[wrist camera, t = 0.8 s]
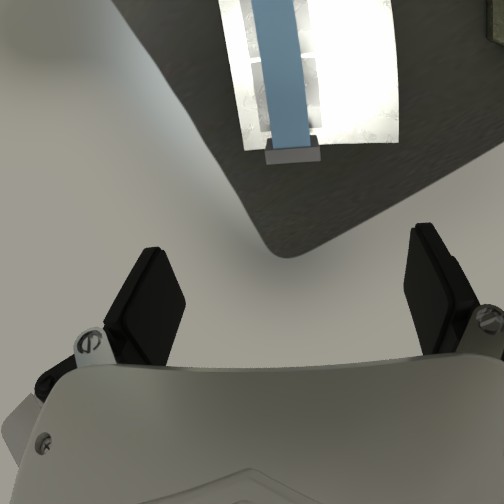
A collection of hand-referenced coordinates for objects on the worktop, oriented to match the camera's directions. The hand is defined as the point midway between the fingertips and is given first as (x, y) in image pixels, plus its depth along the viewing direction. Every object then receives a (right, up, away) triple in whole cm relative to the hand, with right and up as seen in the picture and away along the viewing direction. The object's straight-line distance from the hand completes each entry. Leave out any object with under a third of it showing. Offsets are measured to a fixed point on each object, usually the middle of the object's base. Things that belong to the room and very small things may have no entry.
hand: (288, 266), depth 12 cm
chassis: (+5, +20, +14) cm, 25 cm away
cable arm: (+1, +18, +11) cm, 21 cm away
